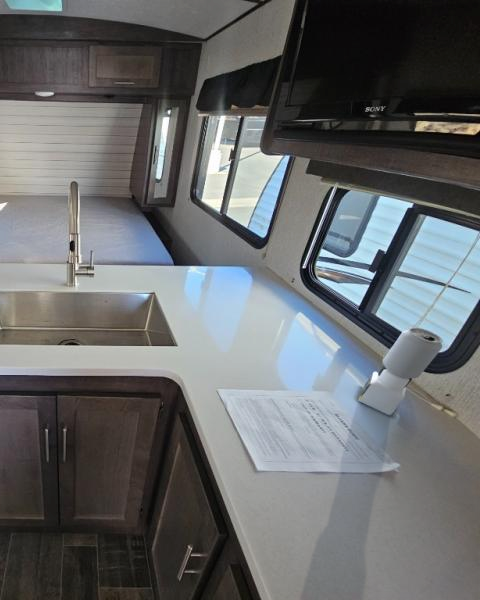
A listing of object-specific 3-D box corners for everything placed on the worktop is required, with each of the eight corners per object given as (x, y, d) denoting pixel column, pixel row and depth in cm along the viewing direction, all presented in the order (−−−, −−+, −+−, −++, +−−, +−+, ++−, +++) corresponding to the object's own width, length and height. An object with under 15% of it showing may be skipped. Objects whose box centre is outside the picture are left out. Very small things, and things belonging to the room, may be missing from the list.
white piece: (362, 388, 95) (383, 357, 89) (393, 402, 91) (417, 371, 85) (357, 401, 91) (380, 369, 84) (390, 416, 86) (415, 384, 80)
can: (408, 384, 80) (437, 346, 74) (374, 364, 86) (399, 328, 80) (423, 376, 83) (453, 339, 77) (390, 358, 89) (415, 322, 83)
